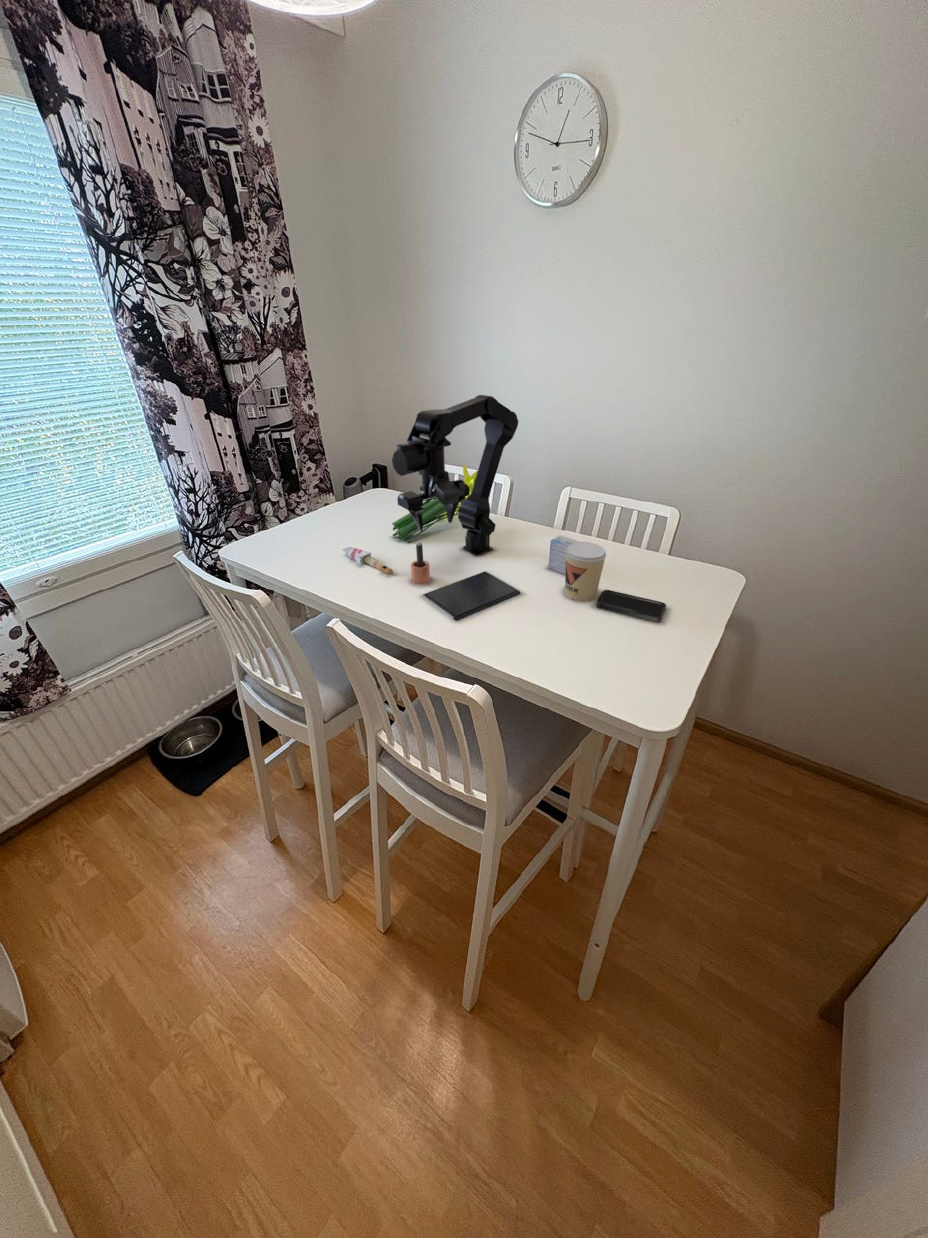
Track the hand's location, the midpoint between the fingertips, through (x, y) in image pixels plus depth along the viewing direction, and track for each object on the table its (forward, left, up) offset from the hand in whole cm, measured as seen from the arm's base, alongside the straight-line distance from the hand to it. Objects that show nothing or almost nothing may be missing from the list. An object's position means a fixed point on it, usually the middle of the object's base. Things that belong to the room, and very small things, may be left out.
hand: (435, 526), depth 129 cm
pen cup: (+8, +4, -12) cm, 15 cm away
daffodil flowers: (-16, -22, -12) cm, 30 cm away
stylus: (+8, +4, -12) cm, 15 cm away
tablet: (+2, +18, -12) cm, 22 cm away
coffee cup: (-20, +34, -12) cm, 41 cm away
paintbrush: (+14, -14, -12) cm, 23 cm away
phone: (-24, +46, -12) cm, 53 cm away
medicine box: (-26, +23, -12) cm, 37 cm away
